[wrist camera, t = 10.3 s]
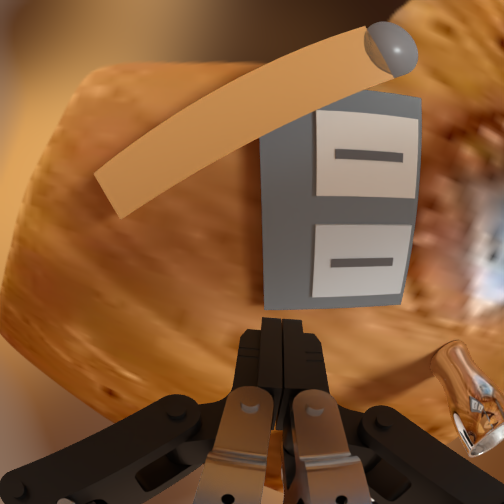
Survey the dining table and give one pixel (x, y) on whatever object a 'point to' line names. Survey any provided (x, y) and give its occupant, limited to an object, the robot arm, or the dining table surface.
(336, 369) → the dining table surface
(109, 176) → the swing bar
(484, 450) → the beer glass
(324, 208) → the label board
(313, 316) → the dining table surface
